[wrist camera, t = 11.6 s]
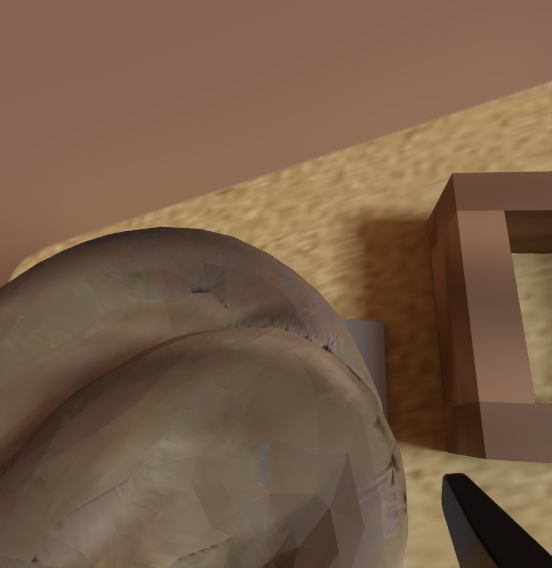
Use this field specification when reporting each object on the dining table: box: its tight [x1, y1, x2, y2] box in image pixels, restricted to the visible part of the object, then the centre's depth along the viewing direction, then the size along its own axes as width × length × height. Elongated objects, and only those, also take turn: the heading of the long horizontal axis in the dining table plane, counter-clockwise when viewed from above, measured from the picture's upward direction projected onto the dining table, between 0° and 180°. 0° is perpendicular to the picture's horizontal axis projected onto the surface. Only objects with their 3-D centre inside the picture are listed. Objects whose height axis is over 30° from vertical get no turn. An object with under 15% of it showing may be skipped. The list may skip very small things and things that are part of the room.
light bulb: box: [0, 227, 408, 568], centre depth 10 cm, size 6×6×15 cm
